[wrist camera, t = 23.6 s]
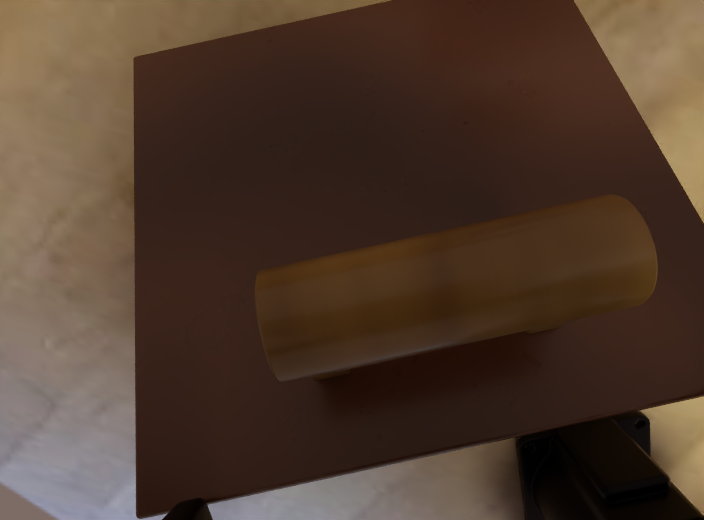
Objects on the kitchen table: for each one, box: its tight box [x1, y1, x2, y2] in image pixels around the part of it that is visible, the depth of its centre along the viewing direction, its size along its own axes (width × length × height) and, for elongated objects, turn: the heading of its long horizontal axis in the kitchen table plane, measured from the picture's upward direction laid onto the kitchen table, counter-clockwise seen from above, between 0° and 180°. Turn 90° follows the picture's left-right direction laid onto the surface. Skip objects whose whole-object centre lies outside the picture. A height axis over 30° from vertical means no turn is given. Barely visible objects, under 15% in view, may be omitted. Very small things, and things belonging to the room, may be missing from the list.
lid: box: [134, 0, 704, 519], centre depth 9 cm, size 11×12×4 cm
